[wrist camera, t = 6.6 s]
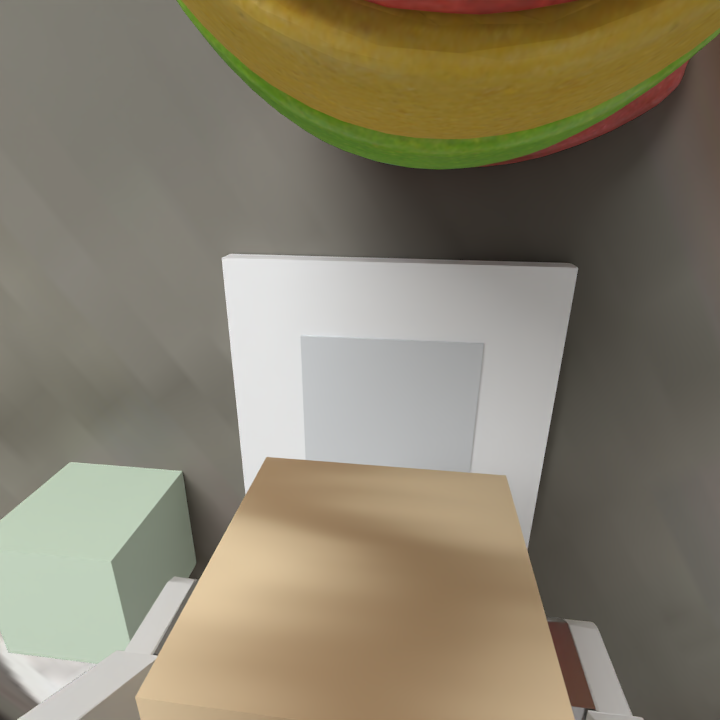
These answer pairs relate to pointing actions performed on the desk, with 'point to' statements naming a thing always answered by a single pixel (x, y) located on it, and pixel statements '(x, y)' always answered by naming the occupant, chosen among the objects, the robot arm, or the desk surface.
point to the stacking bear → (457, 70)
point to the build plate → (399, 362)
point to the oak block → (363, 605)
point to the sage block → (91, 559)
